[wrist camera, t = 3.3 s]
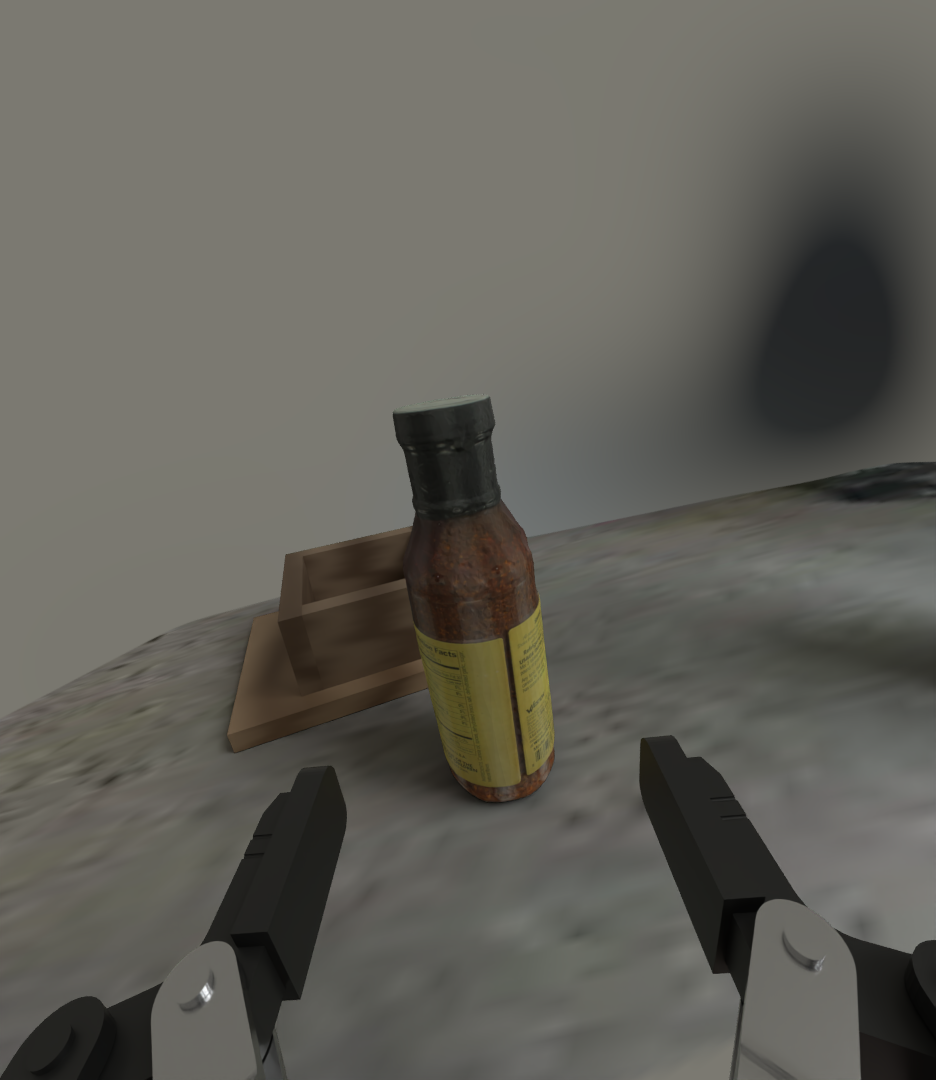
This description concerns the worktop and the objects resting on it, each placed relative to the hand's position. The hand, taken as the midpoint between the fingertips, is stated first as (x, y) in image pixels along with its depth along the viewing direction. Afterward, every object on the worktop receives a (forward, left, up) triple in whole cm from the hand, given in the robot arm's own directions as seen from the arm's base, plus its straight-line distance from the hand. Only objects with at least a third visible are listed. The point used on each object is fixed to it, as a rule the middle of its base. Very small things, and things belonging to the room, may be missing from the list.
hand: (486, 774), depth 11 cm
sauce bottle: (-3, -10, -11) cm, 15 cm away
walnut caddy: (+1, -26, -11) cm, 28 cm away
